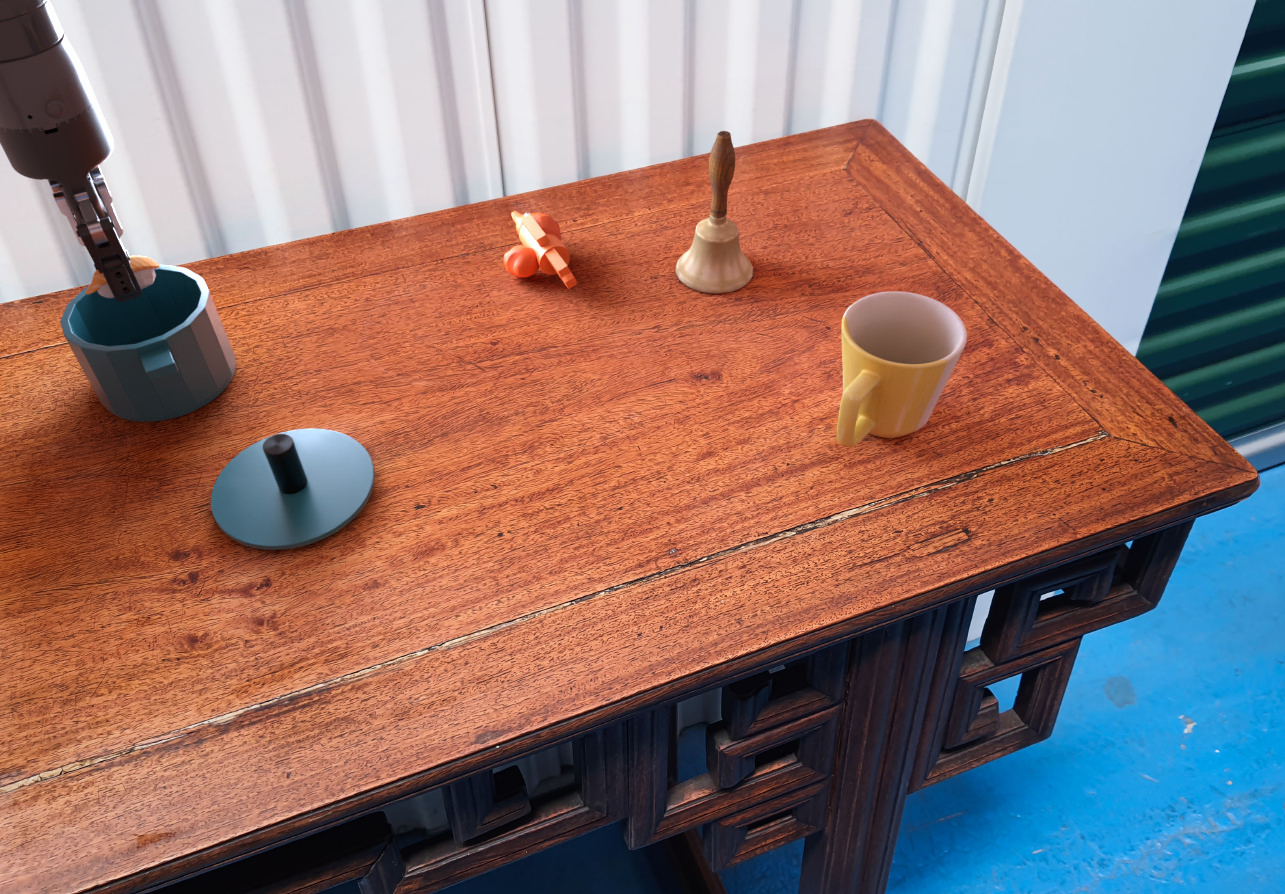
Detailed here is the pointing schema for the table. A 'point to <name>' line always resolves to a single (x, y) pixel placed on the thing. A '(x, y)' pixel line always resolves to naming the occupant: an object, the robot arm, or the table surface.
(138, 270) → the sushi
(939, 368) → the mug
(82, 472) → the table surface
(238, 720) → the table surface
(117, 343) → the pot
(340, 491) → the lid
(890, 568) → the table surface
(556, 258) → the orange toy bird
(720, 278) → the hand bell
